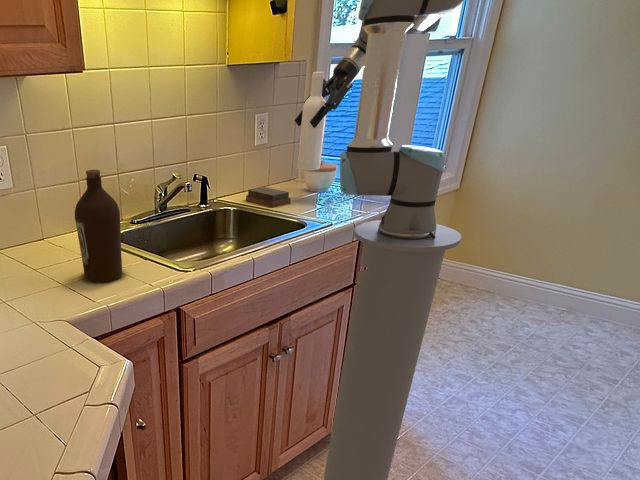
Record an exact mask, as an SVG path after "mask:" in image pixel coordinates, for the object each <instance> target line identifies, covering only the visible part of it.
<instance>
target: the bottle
mask: <svg viewBox="0 0 640 480" xmlns="http://www.w3.org/2000/svg"><path fill="white" fill-rule="evenodd" d="M323 79H325V72H324V71H313V72H312V75H311V84H310V85H311V87H310V94H311V95H310V94H309V96H310V97H309V96H308V97H309V98H308V97H307V98H308V99H307V98H306V99H307V100H306V99H305V100H306V101H305V100H304V101H305V104H304V103H303V107H302V110H303V112H302V123H301V125H300V133H299V143H298V144H299V146H298V156H297V162H296V164H297V170H300V171H304V170H318V169H319V168H320V164H321V160H322V154H323V153H322V151H323V145H324V144H323V143H324V133H325V126H326V117H327V114H326V115H325V117H324V118H323V119H322V120H321V121H320V122H319V124H318V125H317V126H316V127H315V128H313V126H312V125H311V123H310V121H311V120H312V118H313V117H314V116H315V115H316V113H317V112H318V111H319V110H320V108H321V107H322V106H325V105H324V103H326V102H327V100H325V97H324V98H323V97H322V87H323ZM325 107H326V106H325Z"/></svg>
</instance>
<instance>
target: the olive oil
mask: <svg viewBox="0 0 640 480" xmlns="http://www.w3.org/2000/svg"><path fill="white" fill-rule="evenodd" d="M85 175H86V177H85V180H86V190H85V191H84V193H83V194H82V195H81V197H80V198H79V200H78V201H77V203H76V204H75V209H74V221H75V226H76V227H75V228H76V234H77V238H78V244H79V249H80V255H81V262H82V267H83V275H84V278H85V280H86V281H89V282H91V283H111V282H114V281H117V280H118V279H121V277H122V276H123V260H122V237H121V236H122V235H121V231H122V230H121V211H120V208H119V206H118V203H117V201H116V200H115V199H114V198H113V196H111V194H109V193H108V192H107V191H106V190H105V189H104V188H103V186H102V176H101V169H89V170H88V169H87V170H86V171H85Z"/></svg>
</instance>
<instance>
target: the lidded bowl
mask: <svg viewBox="0 0 640 480" xmlns="http://www.w3.org/2000/svg"><path fill="white" fill-rule="evenodd" d="M338 168H339V166H338V164H335V163H329V162H324V160H322V159H321V164H320V168H319V169H318V170H303V181H304V184H305V186H306V187H307V189H308V191H310V192H317V193H318V192H319V193H321V192H327V191H328V190H329V189H330V188H331V187H332V186H333V184H334V183H335V180H336V177H337V173H338Z"/></svg>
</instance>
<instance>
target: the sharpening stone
mask: <svg viewBox="0 0 640 480" xmlns="http://www.w3.org/2000/svg"><path fill="white" fill-rule="evenodd" d="M247 191H248V192H247V194H246V195H245V201H246V202H249V203H253V204H257V205H261V206H265V207H269V208H275V207H280V206H284V205H290V204H291V198H292V197H290V192H289V191H285V190H280V189H277V188H271V187H268V186H267V187H266V186H261V187H256V188H251V189H248V190H247Z"/></svg>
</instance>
